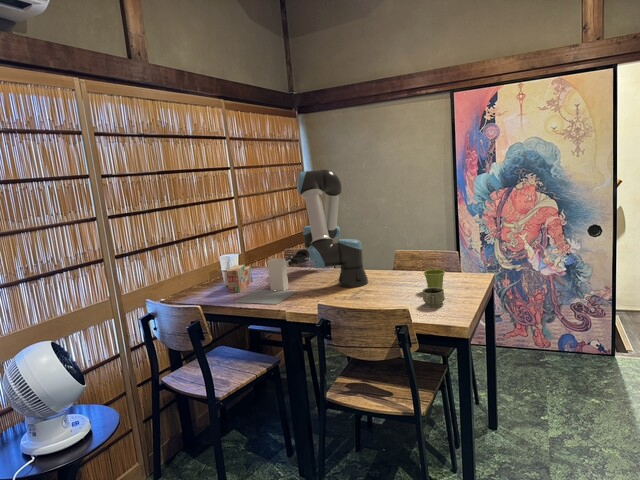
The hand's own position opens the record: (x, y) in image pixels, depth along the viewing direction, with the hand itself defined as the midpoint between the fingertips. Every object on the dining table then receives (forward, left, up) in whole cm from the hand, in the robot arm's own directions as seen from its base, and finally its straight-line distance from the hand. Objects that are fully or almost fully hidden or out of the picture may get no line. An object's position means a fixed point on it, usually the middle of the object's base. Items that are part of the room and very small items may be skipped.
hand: (284, 265), depth 230 cm
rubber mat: (0, +21, -11) cm, 24 cm away
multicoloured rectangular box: (+26, +5, -12) cm, 29 cm away
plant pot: (-79, +2, -11) cm, 80 cm away
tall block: (0, +8, -11) cm, 14 cm away
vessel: (-82, +22, -12) cm, 86 cm away
